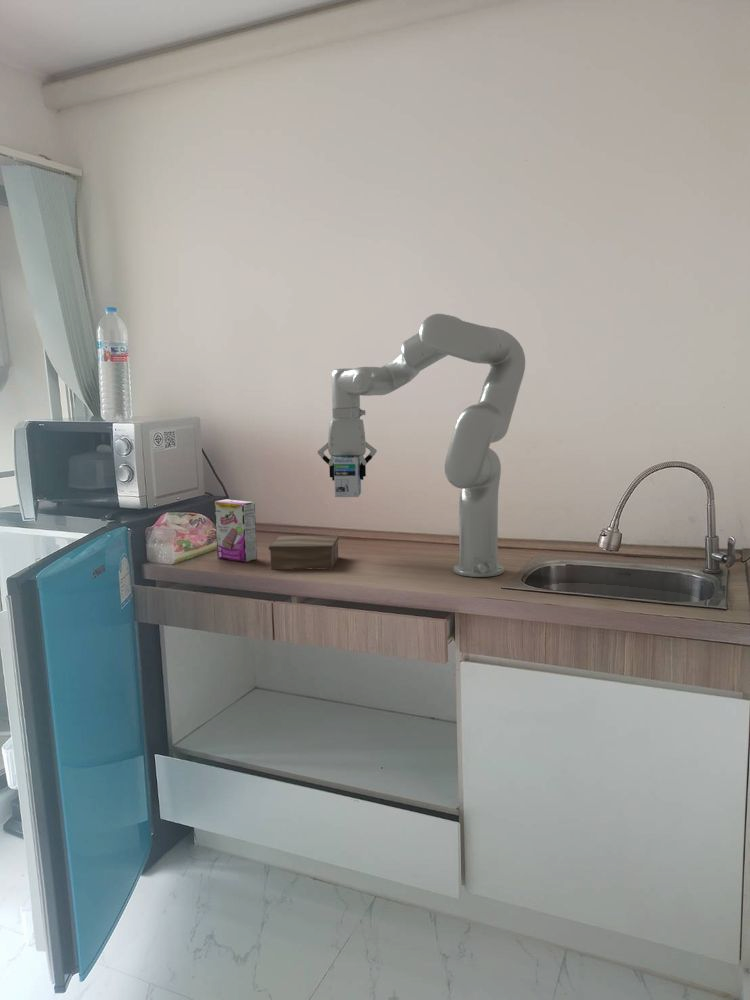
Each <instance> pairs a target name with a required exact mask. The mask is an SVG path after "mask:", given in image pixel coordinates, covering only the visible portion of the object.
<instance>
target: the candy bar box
mask: <svg viewBox="0 0 750 1000" xmlns="http://www.w3.org/2000/svg"><path fill="white" fill-rule="evenodd" d="M255 504H256V503H255V502H254V501H248V500H247V501H246V500H237V499H228V498H226V499H225V498H224V499H220V500H215V501H214V514H215V531H216V532H215V533H216V548H217V549H216V550H217V551H216V552H217V559H224V560H228V561H236V562H237V561H238V562H242V563H248V562H249V563H250V562H252V561H255V560H257V559H258V551H257V549H258V547H257V527H256V525H257V524H256V505H255Z"/></svg>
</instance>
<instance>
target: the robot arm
mask: <svg viewBox="0 0 750 1000" xmlns="http://www.w3.org/2000/svg"><path fill="white" fill-rule="evenodd" d="M448 356H451V357H452V358H453V357H454V358H457V359H460V360H463V361H467V362H469V363H470V362H471V363H473V364H474V363H476V364H485V365H489V366H490V368H489V369H490V370H489V372H488V374H487V377H486V378H485V380H484V383H483V385H482V389H481V394H480V397H479V400H478V402H477V404H473V405H470V406H467V407H466V408H465V409H464V410H462V411H461V413H460V414H459V416H458V418H457V420H456V423H455V425H454V429H453V432H452V436H451V440H450V443H449V446H448V450H447V453H446V457H445V462H444V474H445V477H446V479H447V481H448V482H449V483H450V484H451V485H452V486H453V487H455V488H458V489H460V492H459V493H460V494H459V502H458V503H459V506H458V507H459V511H458V515H459V518H458V519H459V520H458V521H459V525H458V526H459V529H458V530H459V532H458V533H459V537H458V538H459V540H458V541H459V543H458V544H459V548H458V549H459V550H458V551H459V555H458V556H459V557H458V558H459V559H458V560H459V563H457V564H455V565H453V569H452V570H453V572H454V573H455V574H457V575H459V576H464V577H470V578H487V577H488V578H489V577H496V576H499V575H502V574H503V573H504V572H505V569H504V566H503V565H502V564H499V561H498V560H499V559H498V553H499V552H498V550H499V549H498V547H499V546H498V544H499V542H498V541H499V539H498V538H499V537H498V536H499V533H498V532H499V530H498V527H499V523H498V521H499V518H498V517H499V489H500V480H501V472H502V466H501V461H500V457H499V455H498V454H497V453H496V451H494V450H493V449H492V448H490V446H491V444H492V443H496V442H499V441H501V440H502V439H504V437H506V435H507V433H508V431H509V427H510V423H511V420H512V417H513V413H514V409H515V406H516V402H517V399H518V395H519V392H520V388H521V386H522V382H523V379H524V375H525V370H526V354H525V351H524V349H523V346H522V345H521V343H520V342H519V341H518V339H517V338H516V337H515V336H513V335H512V334H511V333H509V332H508V331H505V330H504V329H501V328H497V327H490V326H485V325H480V324H476V323H473V322H469V321H465V320H462V319H461V318H459V317H457V316H454V315H450V314H445V313H434V314H431V315H429V316H428V317H426V318H425V319H424V320H423V322H422V323H421V325H420V326H419V332H417V333H416V334H415V335H413V336H411V337H409V338H408V339H406V340H404V341H403V342H402V344H401V353H400V354H399V356H398V357H396V358H395V359H393V360H391V361H390V362H389V363H386V364H385V365H382V366H359V367H355V368H335V369H334V370H333V371H332V372H331V393H332V394H331V403H332V407H331V408H332V409H331V410H332V419H330V420H329V423H328V425H329V426H328V437H327V438H328V439H327V443H325V444H324V445H323V446H321V448H319V449H318V450H317V454H318V455H319V457H320V458H321V459H322V460H323V461H324V462H325V464H327V465H328V466H329V467H328V468H329V478H331V479H332V481H333V482H334V458H335V457H346V456H358V457H359V459H360V461H361V465H360V479H361V481H364V477H367V472H366V470H367V469H366V468H367V467H366V465H367V464H368V463H369V462H370V461H371V460H372V459H373V457H374V456H375V455H376V453H378V452H377V451H378V450H377V449H376V448H375V447H374V446H372V445H371V444H369V443H368V442H367V441H366V432H365V424H364V421H363V420H364V419H361V417H363V416H366V410H365V409H361V396H363V397H366V396H367V397H368V396H369V397H370V396H372V397H373V396H385V395H388V394H390V393H392V392H395V391H396V390H398V389H400V388H401V387H404V386H405V385H407V384H408V383H410V382H411V381H413V380H414V378H415V377H416V376H417V375H419V374H420V372H421V371H423V370H425V369H426V368H428V367H429V366H432V365H433V364H435V363H436V362H437V363H438V362H439V361H440V360H443V359H444V358H446V357H448ZM366 449H367V450H368V451H369V454H368V455H366V457H364V455H365V454H366V452H367V450H366ZM327 450H328V454H329V455H330V458H329V457H328V456H327V455H326V454H325V451H327Z"/></svg>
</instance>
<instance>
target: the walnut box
mask: <svg viewBox="0 0 750 1000" xmlns="http://www.w3.org/2000/svg"><path fill="white" fill-rule="evenodd" d="M339 540H340V535H280V536H278V537H277V538H276V539H275V540H274V541H273V542H272V543H271V544H270V545H268V551H270V570H294V569H293V568H314V569H313V570H318V569H317V568H332V569H333V567H334V566H333V565H335V564H336V562H337V561H338V559H339ZM336 560H337V561H336ZM315 568H316V569H315Z"/></svg>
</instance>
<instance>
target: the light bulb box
mask: <svg viewBox="0 0 750 1000" xmlns="http://www.w3.org/2000/svg"><path fill="white" fill-rule="evenodd" d="M360 465H361V461H360V459H359V457H358V456H346V457H335V458H334V481H333V482H334V483H333V484H334V497H335V498H359V497H360V495H361V494H362V480H361V479H360Z"/></svg>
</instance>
